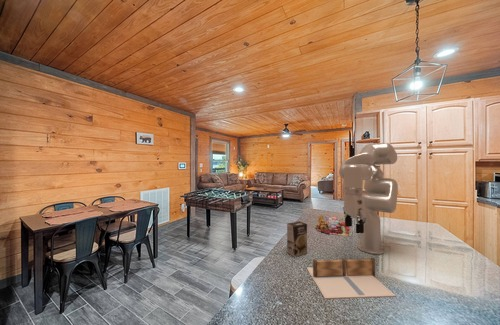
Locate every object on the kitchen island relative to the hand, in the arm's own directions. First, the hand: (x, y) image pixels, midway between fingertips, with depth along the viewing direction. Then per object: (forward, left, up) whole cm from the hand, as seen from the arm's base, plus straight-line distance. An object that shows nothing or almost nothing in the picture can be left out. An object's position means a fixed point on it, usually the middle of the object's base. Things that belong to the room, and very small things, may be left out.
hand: (353, 229), depth 87 cm
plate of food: (-15, -51, -19) cm, 56 cm away
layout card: (+9, +9, -18) cm, 22 cm away
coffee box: (+22, -16, -18) cm, 33 cm away
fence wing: (+1, +6, -18) cm, 18 cm away
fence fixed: (+14, +6, -18) cm, 23 cm away
